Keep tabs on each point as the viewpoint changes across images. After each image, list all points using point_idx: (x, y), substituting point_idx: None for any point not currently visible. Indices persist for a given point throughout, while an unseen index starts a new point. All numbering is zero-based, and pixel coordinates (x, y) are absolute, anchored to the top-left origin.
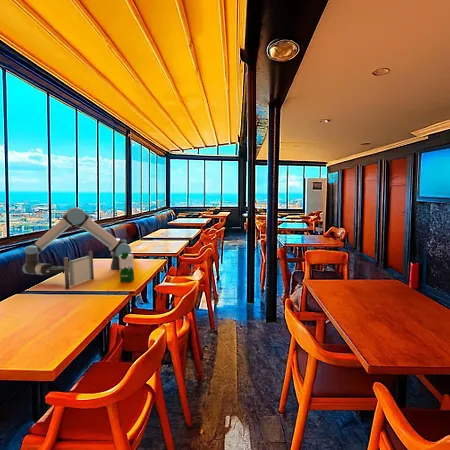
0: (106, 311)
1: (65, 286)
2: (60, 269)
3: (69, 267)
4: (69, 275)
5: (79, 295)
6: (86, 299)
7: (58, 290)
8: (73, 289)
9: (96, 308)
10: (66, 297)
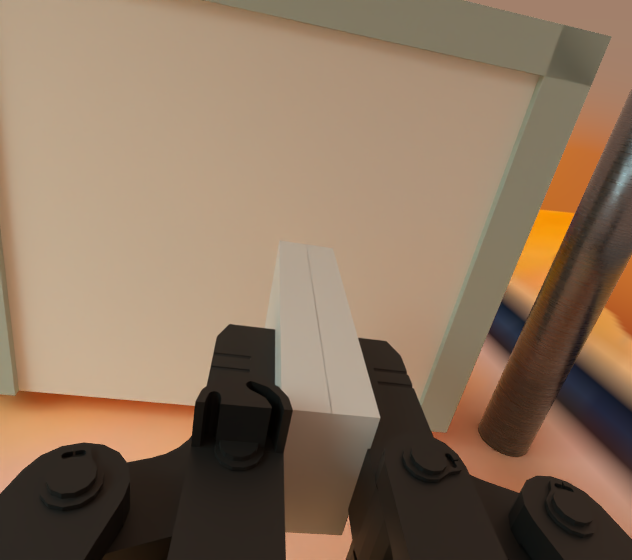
0: (554, 214)
1: (542, 422)
2: (575, 490)
3: (549, 168)
4: (498, 305)
5: (533, 297)
6: (541, 262)
7: (624, 495)
8: (477, 375)
9: (565, 229)
10: (622, 335)
